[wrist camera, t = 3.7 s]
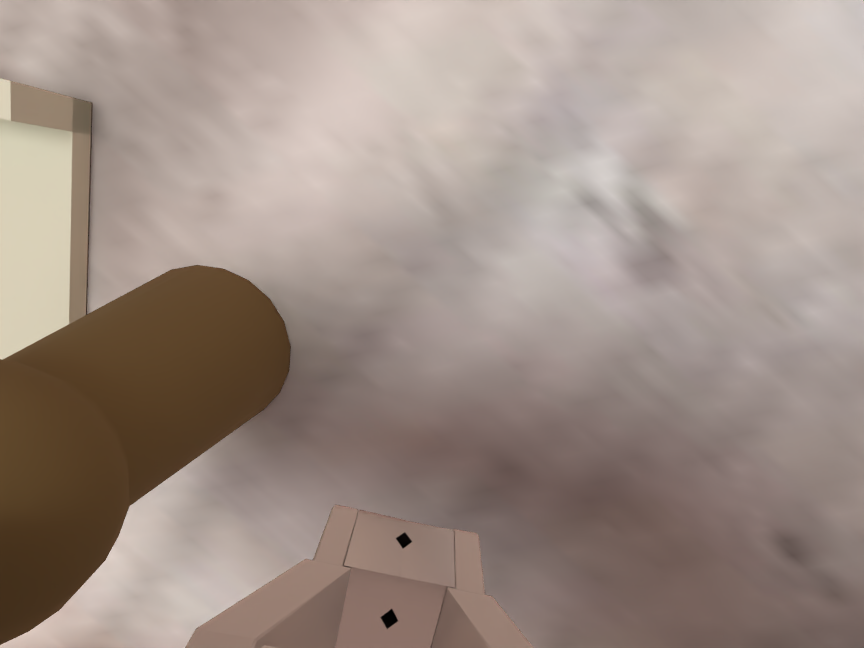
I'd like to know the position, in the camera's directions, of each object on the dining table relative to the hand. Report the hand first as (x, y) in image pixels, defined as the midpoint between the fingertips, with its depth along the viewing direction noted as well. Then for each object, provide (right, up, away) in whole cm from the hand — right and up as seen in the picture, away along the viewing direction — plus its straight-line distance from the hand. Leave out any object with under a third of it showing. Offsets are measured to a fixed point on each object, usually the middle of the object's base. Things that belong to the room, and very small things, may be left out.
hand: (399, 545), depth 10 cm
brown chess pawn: (-8, +4, +8) cm, 12 cm away
